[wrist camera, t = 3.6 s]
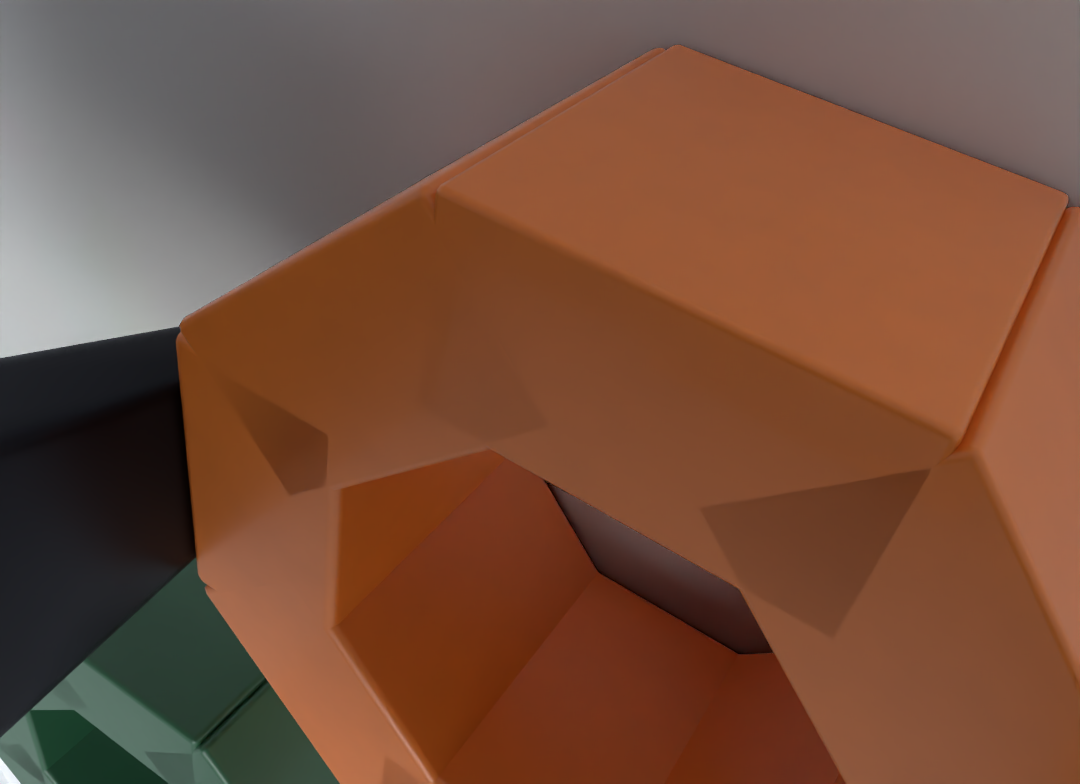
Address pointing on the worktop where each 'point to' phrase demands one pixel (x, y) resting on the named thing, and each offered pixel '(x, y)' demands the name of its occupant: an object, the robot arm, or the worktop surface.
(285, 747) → the green ring
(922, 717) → the orange ring
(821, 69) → the worktop surface
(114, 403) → the robot arm
